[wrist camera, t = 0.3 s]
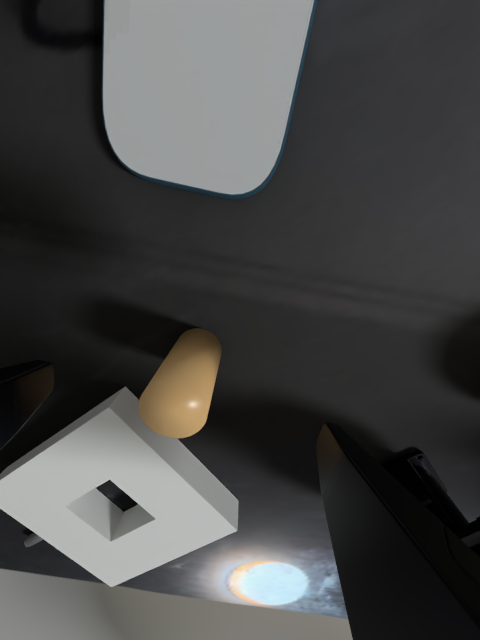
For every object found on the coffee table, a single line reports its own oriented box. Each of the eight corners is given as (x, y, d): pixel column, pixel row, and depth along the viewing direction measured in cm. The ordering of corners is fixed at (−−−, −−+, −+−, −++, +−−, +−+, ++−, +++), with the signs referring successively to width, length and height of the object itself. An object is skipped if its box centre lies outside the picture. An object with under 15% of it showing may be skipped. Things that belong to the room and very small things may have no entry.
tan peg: (230, 354, 22) (221, 418, 15) (195, 377, 23) (169, 448, 15) (202, 319, 21) (176, 368, 14) (166, 344, 22) (124, 403, 14)
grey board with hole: (238, 500, 28) (237, 530, 25) (85, 574, 33) (70, 605, 31) (125, 386, 24) (108, 407, 21) (-31, 492, 29) (-61, 520, 26)
